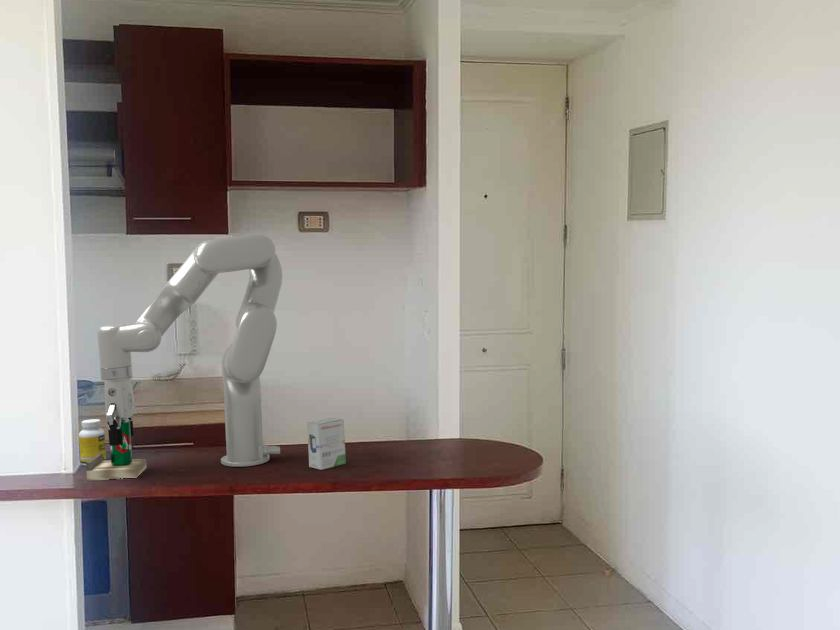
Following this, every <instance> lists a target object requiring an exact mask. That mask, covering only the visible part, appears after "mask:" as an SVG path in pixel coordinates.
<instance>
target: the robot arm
mask: <svg viewBox="0 0 840 630" xmlns="http://www.w3.org/2000/svg"><path fill="white" fill-rule="evenodd" d="M244 270H248V272H249V273H248V275H249V278H248V283H247V286H246V289H245V293H244V296H243V299H242V302H241V305H240V308H239V310H238V312H237V316H236V320H235V325H236V328H237V329H236V332H235V334H234V338H233V341H232V343H231V344H229V345H228V346H227V347H226V348H225V349H224V351H223V353H222V357H221V375H222V385H223V400H224V403H223V404H224V407H223V408H224V422H225V424H224V425H225V442H226V443H225V446H226V455H224V456H222V457H221V458H220V463H221V465H223V466H227V467H231V468H232V467H236V468H237V467H239V468H241V467H253V466H258V465H262V464H264V463H265V464H266V463H267V462H269V461H270V455H280V454H281V447H280V446H277V445H267V444H266V441H263V439H264V437H263V436H264V435H263V419H262V418H263V417H262V415H263V414H262V392H261V391H262V387H261V380H260V379H261V378H260V376H261V375H262V373H263V371H264V370H265V367H266V364H267V361H268V357H269V355H270V352H271V349H272V345H273V342H274V339H275V335H276V332H277V327H278V326H277V325H278V323H277V322H278V321H277V317H276V315H275V310H276V306H277V303H278V299H279V295H280V292H281V289H282V288H281V287H282V283H283V282H282V281H283V271H282V265H281V262H280V260H279V258H278V255H277V253H276V246H275V243H274V241H273V240H272V239H271V238H270V237H269V236H268V235H265V234H262V233H255V234H247V235H242V236H234V237H229V238H219V239H218V238H217V239H207V240H204V241H202V242H200V243H199V244H197V246H196V248H194V250H193V251H192V252H191V253H190V255H188V256H187V258H186V259H185V260H184V262H183V263H182V264H181V266H179V267H178V269H177V270H176V271H175V273H174V274H173V275H172V276H171V277H170V279H169V280H168V281H167V283H166V284H165V285H164V286H163V287H162V289H161V291H160V292H159V294H158V295H157V296H156V297H155V299H154V300H153V301H152V302H151V303H150V304H149V306H148V307H147V308H146V309H145V311H144V312H143V313H142V314H141V315H140V317H139V318H138V319H137V320H136V321H135V323H134V324H131V325H126V324H124V323H117V324H115V323H113V324H105V325H101V326H100V327H98V328H97V332H96V333H97V345H98V346H97V347H98V358H99V371H100V381H101V382H104V389H103V391H104V408H105V417H106V420H107V422H106V423H107V430H108V432H107V433H108V444H109V447H110V446H114V445H122V444H123V436H122V429H120V427H121V420H122V418H123V419H124V420H126V419H129V421H130V432H131V437H133V436H134V435H135V433H134V421H133V415H134V414H135V413H136V405H135V404H136V403H135V397H134V396H135V395H134V389H133V383H132V382H133V381H132V379H133V377H134V376H133V366H132V353H149V352H150V353H151V352H153V351H154V350H155V351H156V349H157V348H158V347H159V346H160V344H161V342H162V337H163V336H164V335H165V333H166V332H167V331H168V329H170V327H171V326H172V325H173V324H174V323H175V321H176V320H177V319H178V318H179V317H180V316H181V314H183V313H184V312H185V311H187V310H188V309H190V308H191V307H192V306H193V305H194V304H195V303H196V302H197V301H198V299H199V298H200V297H201V296H202V294H204V292H205V291H206V289H207V288H209V286H210V285H211V283H212V282H213V281H214V279H215V278H216V277H217V276H218V274H221V273H223V274H224V273H230V272H231V273H232V272H237V271H239V272H240V271H244ZM116 421H118V422H116Z"/></svg>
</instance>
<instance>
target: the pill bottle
mask: <svg viewBox="0 0 840 630" xmlns="http://www.w3.org/2000/svg"><path fill="white" fill-rule="evenodd" d="M81 427H82V429H81V430H80V431H79V433H78V445H79V458H80V465H81V466H86V463H87V462H88V461H89V460H90V459H92V458H93V457H94V456H96V455H97V454H98V453H103V461H107V455H106V454H107V453H106V452H107V451H106V436H105V434H106V433H105V431H104V429H102V428H101V419H99V418H98V419H97V418H91V419H84V420H82V421H81Z"/></svg>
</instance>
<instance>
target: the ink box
mask: <svg viewBox="0 0 840 630" xmlns="http://www.w3.org/2000/svg"><path fill="white" fill-rule="evenodd" d="M344 421H345V420H344V419H343V418H338V417H337V418H335V417H329V418H322V419H318V420H311V421H307V423H306V425H307V427H306V428H307V445H308V446H307V448H308V451H307V452H308V466H309V468H313V469H316V470H319V471H321V470H322V471H323V470H326V469H330V468H335V467H338V466H342V465H346V464H347V460H346V459H347V458H346V457H347V456H346V442H345V441H346V439H345V437H346V436H345V424H344V423H345V422H344Z"/></svg>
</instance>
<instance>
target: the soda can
mask: <svg viewBox="0 0 840 630" xmlns="http://www.w3.org/2000/svg"><path fill="white" fill-rule="evenodd" d="M130 421H131V420H130ZM130 421H129V419H126V420H124V419H123V418H122V420H121V427H120V429H122V436H123V444H122V445H114V446H110V445H109V450H110V451H109V452H110V460H111V464H112V465H113V466H126V465H129V464H131V462H132V460H133V453H132V436H131V432H130ZM116 422H118V421H116Z"/></svg>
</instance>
